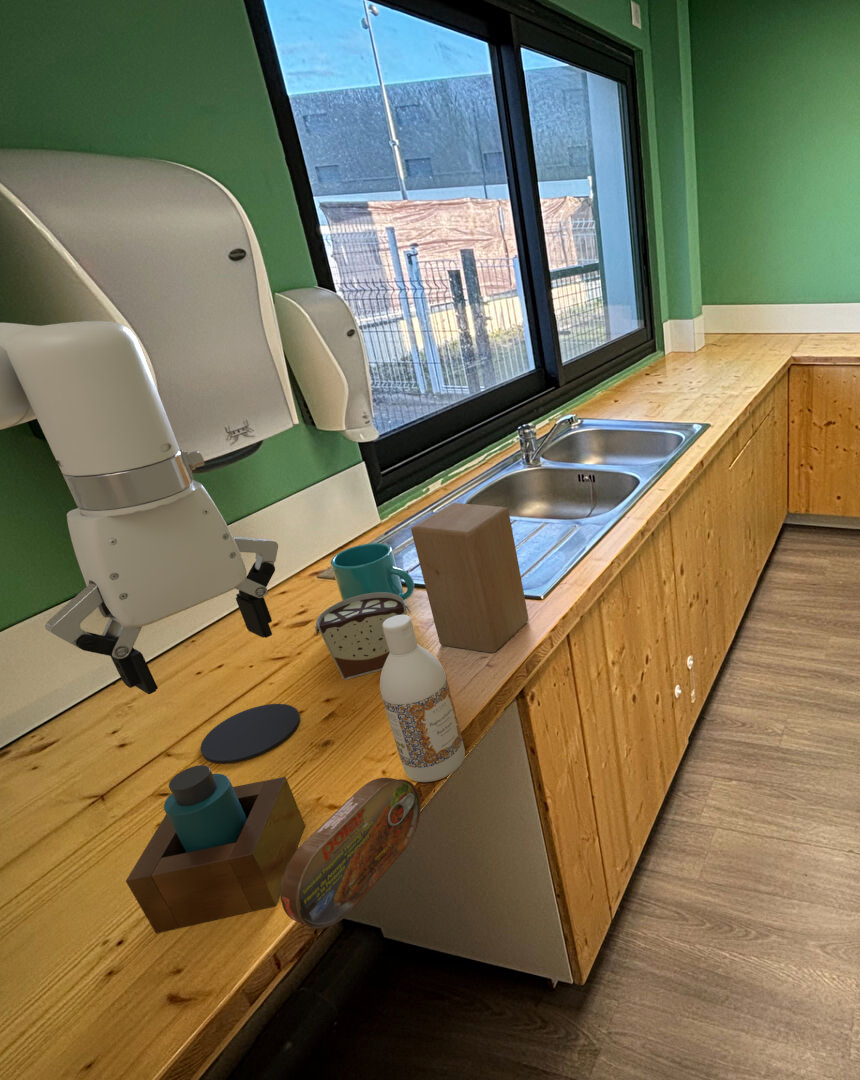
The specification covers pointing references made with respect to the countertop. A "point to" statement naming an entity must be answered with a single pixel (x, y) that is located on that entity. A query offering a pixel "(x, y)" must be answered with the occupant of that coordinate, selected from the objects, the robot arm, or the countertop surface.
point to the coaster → (250, 733)
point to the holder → (220, 863)
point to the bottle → (204, 809)
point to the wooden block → (471, 575)
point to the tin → (350, 852)
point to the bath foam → (419, 705)
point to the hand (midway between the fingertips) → (206, 659)
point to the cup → (369, 572)
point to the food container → (359, 631)
